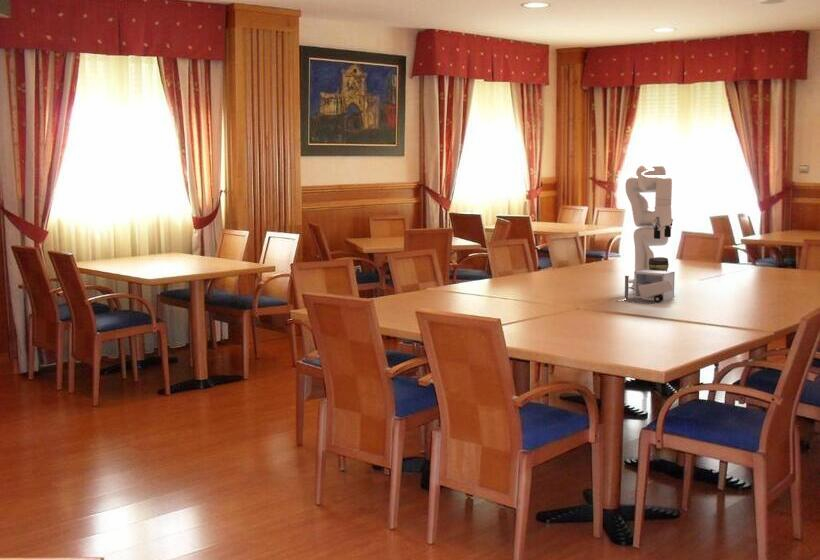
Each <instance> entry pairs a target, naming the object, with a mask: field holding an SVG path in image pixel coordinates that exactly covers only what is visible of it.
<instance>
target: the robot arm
mask: <svg viewBox="0 0 820 560" xmlns="http://www.w3.org/2000/svg"><path fill="white" fill-rule="evenodd" d="M666 173H667V172H666V169H665V167H664V166H663V165H662V164H642V165H640V166H639V167H637V169H636V173H635V174H636V176H631V177H629V178H627V179H626V181H625V186H624V187H625V192H626V193H625V194H626V196H627V198H628V201H629V202H630V206H631V211H632V212H631V213H632V218H633V222H634V225H635V226H636V227H638V228H636V229H635V230H634V231H633V242H634V244H633V245H634V271H640V270H650V269H649V266H648V265H649V259H650V258H655V254H654V252H653V251H652V249H651V248H650V247H654V246H655V247H657V246H658V247H659V246H660V247H661V246H662V247H663V246H666V245H667V244H668V242H669V238H671V237H672V229H673V228H672V226H673V221H674V219H673V218H672V196H673V195H672V193H673V192H672V188H673V186H672V185H673V179H672V178H671V177H669V176H668V175H666ZM641 193H643V194H644V193H655V196H654V197H655V203H654V208H650V207H649V202H648V200H647V199H646V198H645V197H644V196H643V195H642V194H641ZM628 284H632V285H631V289H634V278H633V279H629V280H628Z"/></svg>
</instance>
